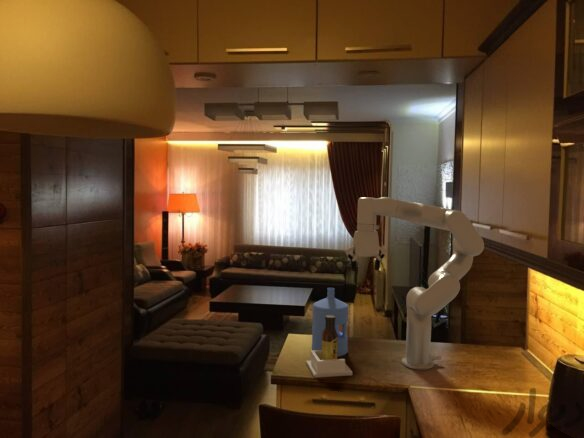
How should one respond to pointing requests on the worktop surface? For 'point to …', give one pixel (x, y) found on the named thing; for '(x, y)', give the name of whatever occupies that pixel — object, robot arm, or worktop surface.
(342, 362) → the end holder
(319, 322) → the water jug
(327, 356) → the sauce bottle
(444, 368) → the worktop surface
